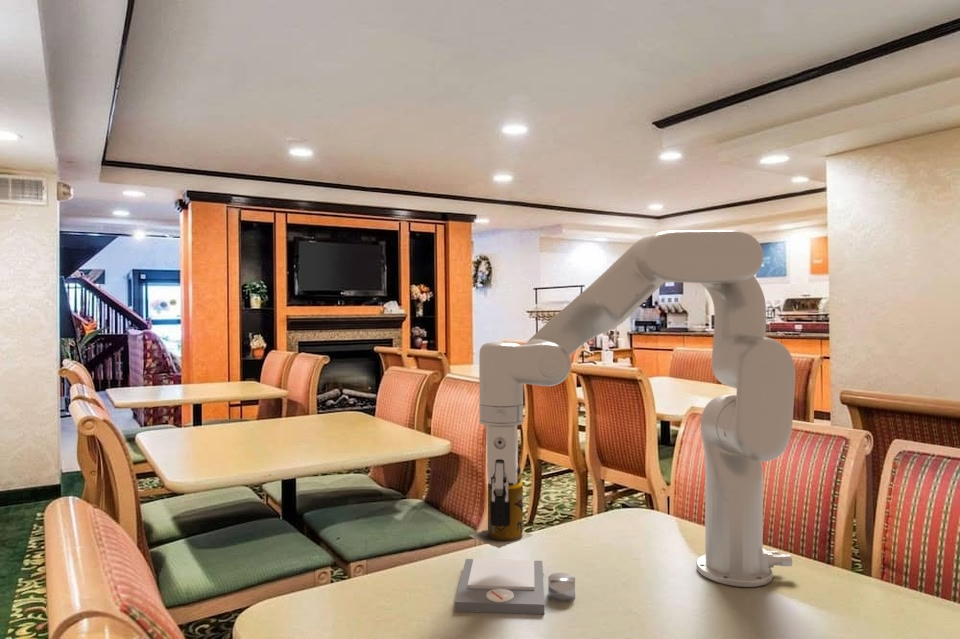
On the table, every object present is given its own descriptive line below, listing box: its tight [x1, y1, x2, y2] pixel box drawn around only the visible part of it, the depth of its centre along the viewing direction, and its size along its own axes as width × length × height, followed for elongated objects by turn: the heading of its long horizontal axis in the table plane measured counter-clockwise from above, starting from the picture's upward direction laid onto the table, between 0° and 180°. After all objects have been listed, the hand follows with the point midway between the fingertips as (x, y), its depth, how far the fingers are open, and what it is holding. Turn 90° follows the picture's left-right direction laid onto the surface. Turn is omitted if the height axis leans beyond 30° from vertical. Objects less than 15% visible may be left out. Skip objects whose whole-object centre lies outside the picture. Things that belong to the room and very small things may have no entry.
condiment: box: [468, 465, 534, 549], centre depth 108 cm, size 7×8×12 cm
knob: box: [547, 572, 576, 603], centre depth 104 cm, size 4×4×3 cm
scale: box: [454, 558, 545, 615], centre depth 107 cm, size 14×17×2 cm
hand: (501, 517), depth 109 cm, fingers closed on condiment, 6 cm apart
